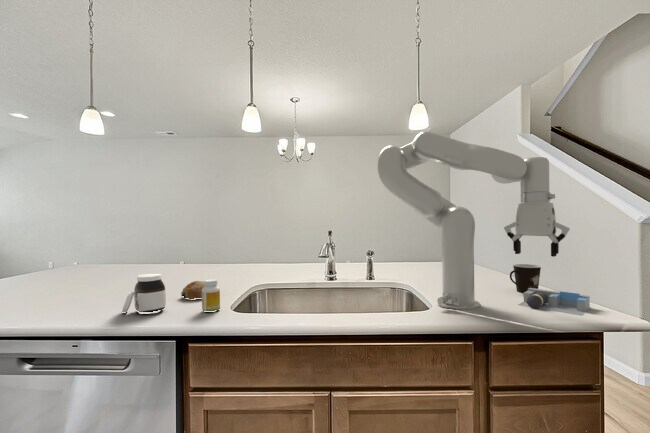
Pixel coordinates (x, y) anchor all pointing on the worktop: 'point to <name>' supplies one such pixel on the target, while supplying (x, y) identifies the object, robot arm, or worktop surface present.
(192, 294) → the bread roll
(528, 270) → the coffee mug
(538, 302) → the banded gray canister
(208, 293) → the supplement bottle
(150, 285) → the spread jar
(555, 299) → the grey ledge plate
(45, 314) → the worktop surface
